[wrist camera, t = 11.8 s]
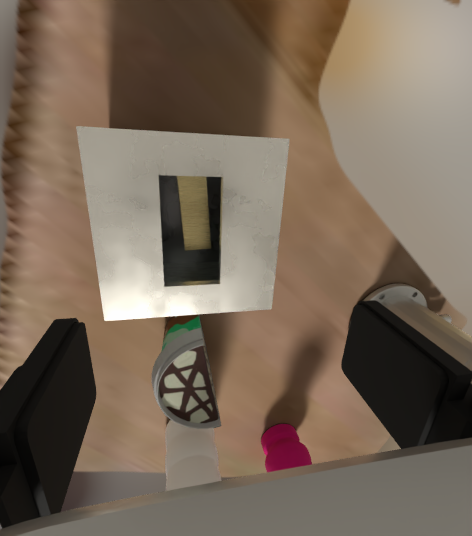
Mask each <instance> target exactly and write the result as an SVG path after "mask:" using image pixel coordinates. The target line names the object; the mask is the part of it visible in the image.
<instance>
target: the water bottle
mask: <svg viewBox="0 0 472 536" xmlns="http://www.w3.org/2000/svg"><path fill="white" fill-rule="evenodd" d="M165 437H166V450H167V452H166V460H165V468H166V476H167V482H166V491H168V490H174V489H179V488H185V487H190V486H196V485H201V484H207V483H212V482H218V481H221V477H220V473H219V469H218V453H217V448H216V445H215V437H214V428H209V429H196V428H189V427H185V426H182V425H180V424H177V423H175V422H174V421H172V420H170V421H169V422H168V424H167V427H166V435H165Z"/></svg>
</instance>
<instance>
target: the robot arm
mask: <svg viewBox="0 0 472 536" xmlns="http://www.w3.org/2000/svg"><path fill="white" fill-rule="evenodd" d="M451 320H452V319H451V317H450V316H449V315H447V314H444V315H437V314H436V313H434V312H433V311H431V310H429V309H428V308H427V303H426V299H425V297H424V296H423V294H422V293H421V292H420V291H419V290H417V289H415V288H414V287H412V286H410V285H407V284H401V283H399V284H391V285H387V286H384V287H382V288H379V289H377V290H376V291H374V292H373V293H371V294H370V295H369V296H367V297H366V298H365V299H364V300H363V301H360V302H359V303H358V304H357V305H356V306H355V307H354V309H353V313H352V317H351V321H350V325H349V331H348V336H347V340H346V345H345V349H344V354H343V358H342V364H341V365H342V370H343V372H344V374H345V375H346V377H347V378H348V379H349V381H350V382H351V383H352V385H353V386H354V387H355V389H356V390H357V391H358V392H359V394H360V395H361V396H362V398H363V399H364V400H365V402H366V403H367V404H368V406H369V407H370V408H371V410H372V411H373V412H374V413H375V415H376V416H377V417H378V419H379V420H380V421H381V423H382V424H383V425H384V427H385V428H386V429H387V431H388V432H389V433H390V435H391V436H392V437H393V438H394V440H395V441H396V442H397V444H398V445H399V446H400V448H401V449H399V450H392V451H387V452H381V453H375V454H369V455H363V456H357V457H352V458H346V459H340V460H335V461H329V462H323V463H318V464H312V465H306V466H301V467H295V468H290V469H284V470H278V471H273V472H267V473H261V474H256V475H250V476H245V477H239V478H234V479H228V480H223V481H218V482H212V483H207V484H201V485H196V486H190V487H185V488H179V489H174V490H168V491H163V492H158V493H153V494H147V495H142V496H137V497H132V498H127V499H123V500H117V501H112V502H107V503H102V504H97V505H92V506H87V507H82V508H77V509H72V510H68V511H64V512H61V508H62V505H63V502H64V499H65V496H66V493H67V489H68V486H69V483H70V480H71V476H72V473H73V470H74V467H75V464H76V461H77V458H78V454H79V451H80V448H81V445H82V442H83V438H84V435H85V432H86V429H87V426H88V423H89V419H90V416H91V413H92V410H93V407H94V403H95V400H96V386H95V380H94V374H93V368H92V363H91V357H90V351H89V345H88V339H87V334H86V328H85V324H84V323H83V322H80V323H79V322H78V320H77V319H76V318H70V319H56V320H54V321H53V323H52V324H51V326H50V327H49V328H48V330H47V331H46V333H45V334H44V335H43V337H42V338H41V340H40V341H39V343H38V344H37V345H36V347H35V348H34V350H33V351H32V353H31V354H30V355H29V357H28V358H27V360H26V361H25V362H24V364H23V365H22V366H20V367H18V368H17V369H16V370H15V371H14V372H13V374H12V375H11V376H10V378H9V379H8V381H7V382H6V383H5V385H4V386H3V387H2V389H1V390H0V536H472V336H470V335H468V334H467V333H465V332H463V331H462V330H460V329H459V328H457V327H456V326H454V325H452V324H451Z"/></svg>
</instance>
